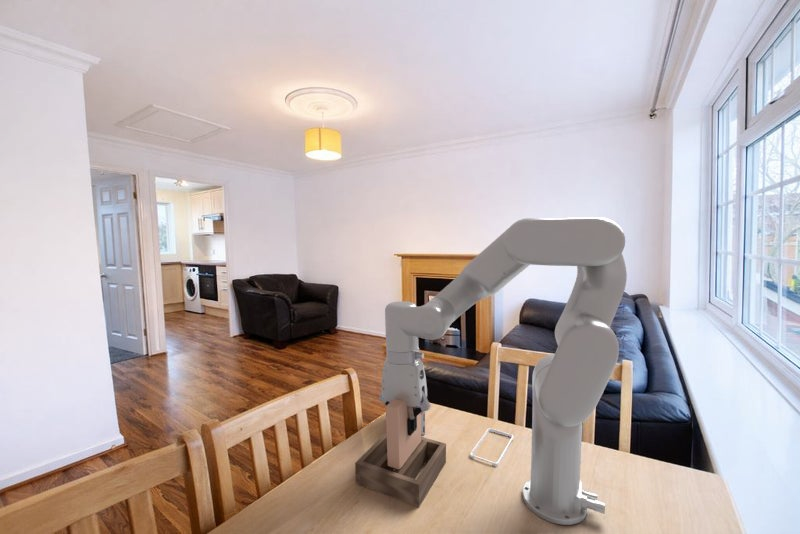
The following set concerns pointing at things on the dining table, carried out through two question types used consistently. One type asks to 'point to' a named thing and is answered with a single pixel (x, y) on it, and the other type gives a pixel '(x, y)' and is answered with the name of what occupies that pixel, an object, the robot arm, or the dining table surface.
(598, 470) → the dining table surface
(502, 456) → the phone case
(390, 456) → the pink block
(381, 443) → the slotted box
